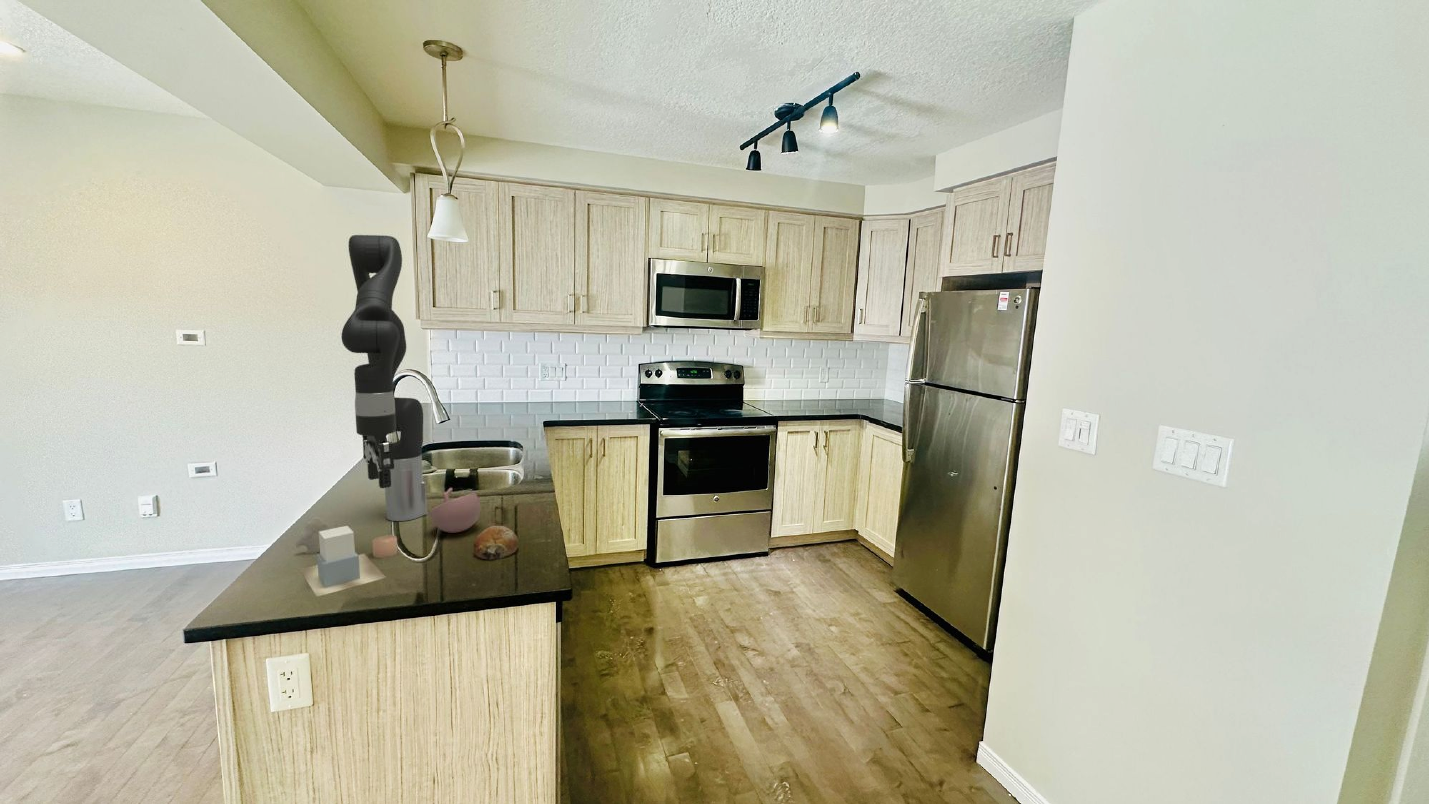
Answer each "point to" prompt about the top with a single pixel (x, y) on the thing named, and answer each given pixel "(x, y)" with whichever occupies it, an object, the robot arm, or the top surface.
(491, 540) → the bread roll
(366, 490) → the top surface
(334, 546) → the tower upper
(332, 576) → the tower lower
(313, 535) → the arrowhead
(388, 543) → the peach cylinder
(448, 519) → the mortar and pestle
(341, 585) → the board
